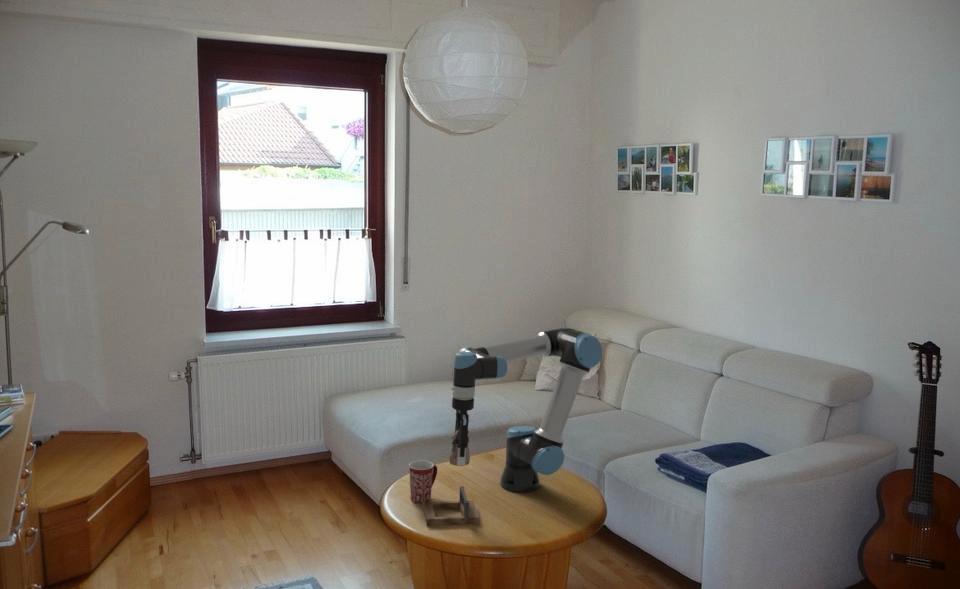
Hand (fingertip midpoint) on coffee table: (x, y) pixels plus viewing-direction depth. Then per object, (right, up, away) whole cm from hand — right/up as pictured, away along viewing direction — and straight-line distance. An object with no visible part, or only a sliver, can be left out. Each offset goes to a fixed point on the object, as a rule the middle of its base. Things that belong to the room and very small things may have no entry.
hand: (459, 460), depth 277 cm
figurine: (0, -1, 0) cm, 1 cm away
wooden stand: (-3, -20, +2) cm, 20 cm away
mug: (-14, -17, +16) cm, 27 cm away
